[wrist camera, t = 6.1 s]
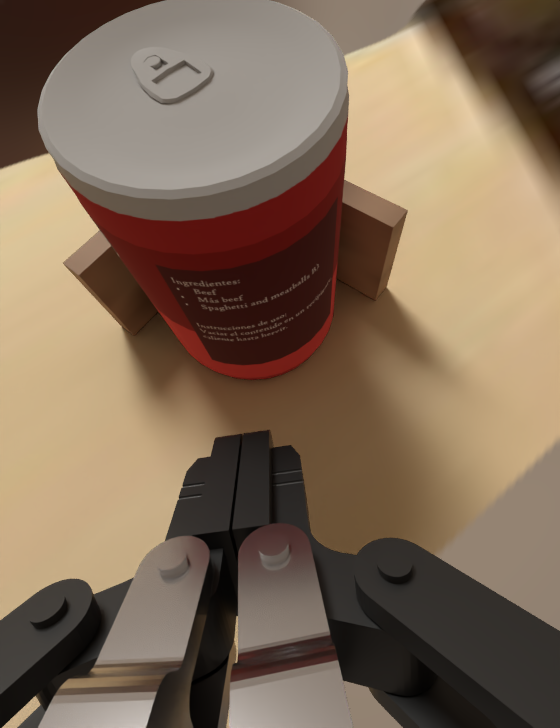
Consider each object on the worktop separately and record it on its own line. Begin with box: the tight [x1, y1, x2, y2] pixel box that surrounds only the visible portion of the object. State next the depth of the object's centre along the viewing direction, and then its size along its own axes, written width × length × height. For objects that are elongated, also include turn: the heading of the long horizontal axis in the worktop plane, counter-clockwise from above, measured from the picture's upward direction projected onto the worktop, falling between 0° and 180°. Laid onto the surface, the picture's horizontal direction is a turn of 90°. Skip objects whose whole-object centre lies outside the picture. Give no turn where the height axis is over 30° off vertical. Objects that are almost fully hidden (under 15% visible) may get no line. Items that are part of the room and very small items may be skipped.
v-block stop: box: [63, 180, 408, 336], centre depth 19 cm, size 13×7×5 cm, turn 97°
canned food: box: [38, 0, 349, 380], centre depth 15 cm, size 8×8×11 cm
